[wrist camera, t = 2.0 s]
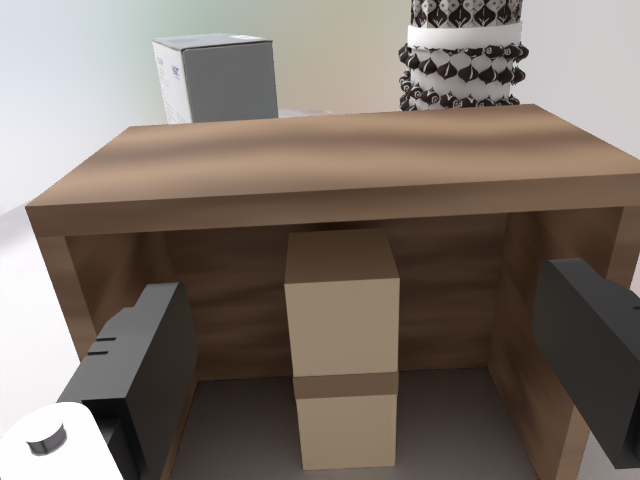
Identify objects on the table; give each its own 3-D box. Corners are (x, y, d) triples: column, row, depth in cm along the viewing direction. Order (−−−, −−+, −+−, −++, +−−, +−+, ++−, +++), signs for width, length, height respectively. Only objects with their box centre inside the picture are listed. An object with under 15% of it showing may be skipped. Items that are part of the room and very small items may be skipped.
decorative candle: (421, 307, 39) (440, -54, 28) (379, 255, 47) (380, -43, 36) (521, 286, 41) (576, -60, 30) (464, 239, 49) (490, -48, 38)
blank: (396, 466, 27) (400, 278, 21) (302, 471, 27) (283, 284, 21) (383, 397, 31) (385, 227, 26) (303, 401, 31) (288, 232, 26)
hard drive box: (294, 259, 48) (274, 39, 38) (217, 280, 45) (176, 48, 36) (246, 205, 60) (223, 29, 51) (184, 219, 58) (147, 36, 48)
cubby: (569, 501, 24) (662, 171, 16) (137, 521, 25) (24, 206, 17) (497, 356, 34) (533, 103, 26) (186, 371, 34) (129, 126, 26)
